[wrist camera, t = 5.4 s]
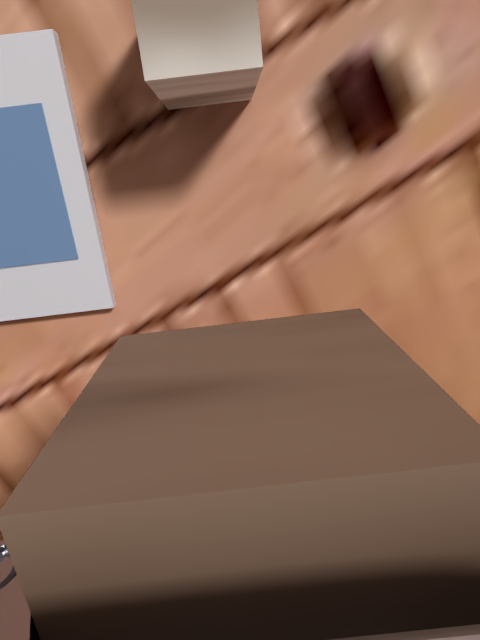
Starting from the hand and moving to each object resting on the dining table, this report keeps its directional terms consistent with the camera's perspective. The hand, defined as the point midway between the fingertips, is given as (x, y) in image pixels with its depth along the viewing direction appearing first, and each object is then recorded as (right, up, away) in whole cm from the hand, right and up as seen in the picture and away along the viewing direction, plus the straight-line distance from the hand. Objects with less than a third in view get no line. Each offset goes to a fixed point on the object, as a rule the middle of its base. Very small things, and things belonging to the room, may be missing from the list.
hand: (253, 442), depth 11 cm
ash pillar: (-2, +18, +14) cm, 23 cm away
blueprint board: (-16, +11, +16) cm, 25 cm away
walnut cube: (0, 0, +1) cm, 1 cm away
